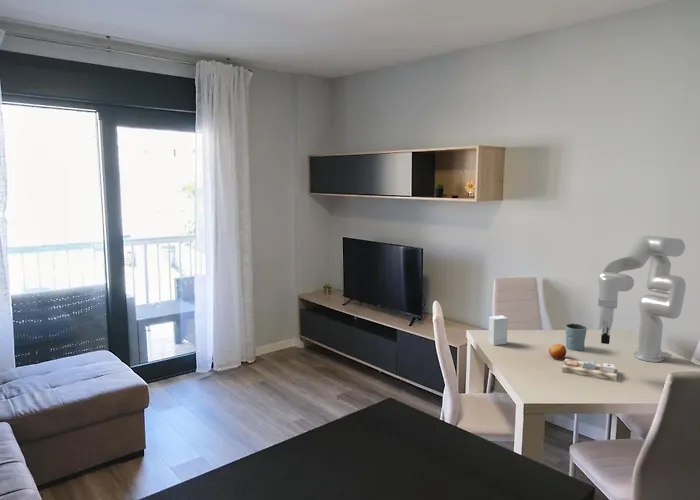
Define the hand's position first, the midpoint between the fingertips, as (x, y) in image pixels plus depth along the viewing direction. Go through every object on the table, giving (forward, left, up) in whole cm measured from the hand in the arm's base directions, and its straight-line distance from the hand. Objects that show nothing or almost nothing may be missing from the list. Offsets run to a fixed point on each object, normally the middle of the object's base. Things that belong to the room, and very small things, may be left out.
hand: (605, 343), depth 219 cm
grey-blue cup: (+15, -31, -15) cm, 38 cm away
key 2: (+6, 0, -12) cm, 14 cm away
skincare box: (+52, -19, -15) cm, 57 cm away
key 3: (+13, 0, -14) cm, 19 cm away
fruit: (+21, -12, -15) cm, 29 cm away
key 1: (-2, 0, -12) cm, 13 cm away
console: (+6, 0, -15) cm, 16 cm away
